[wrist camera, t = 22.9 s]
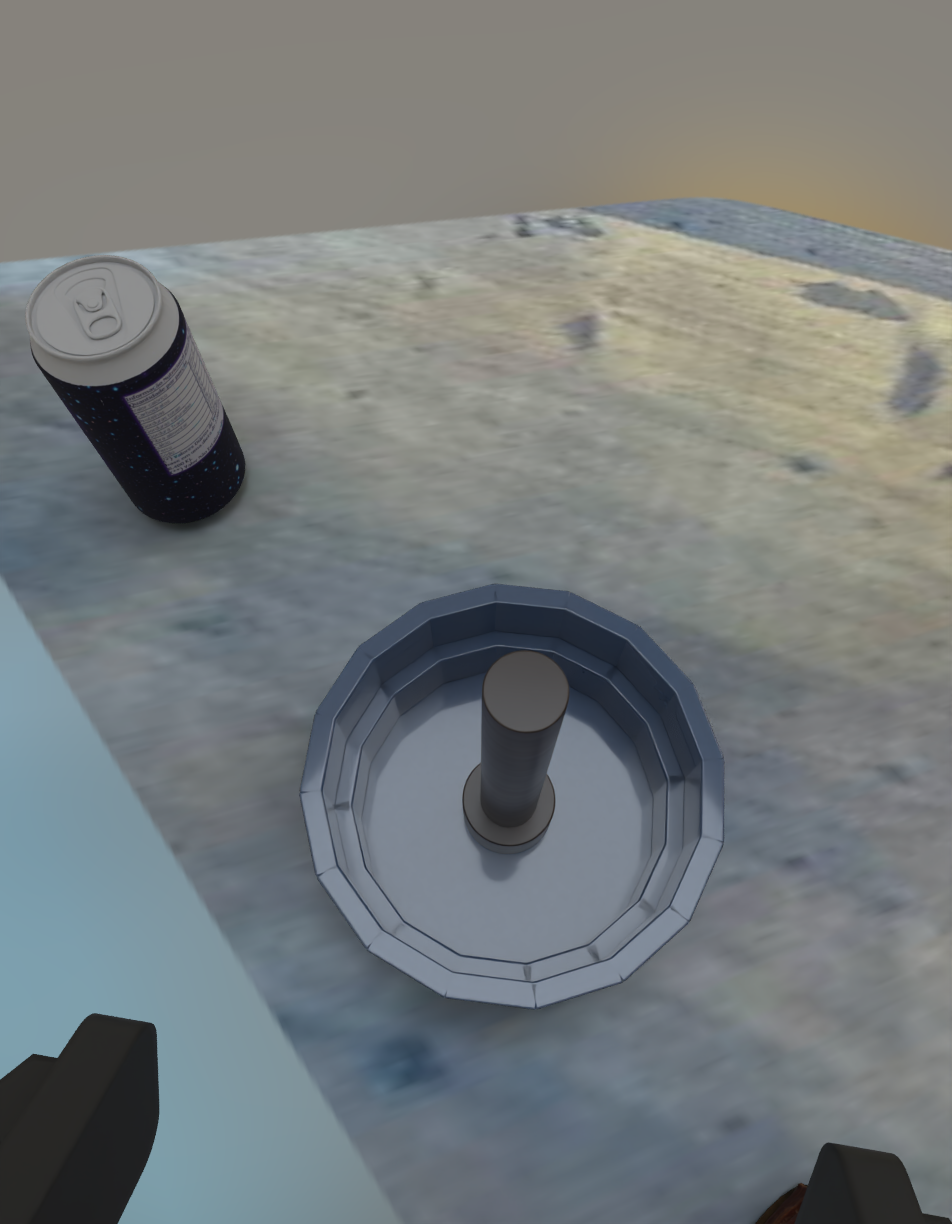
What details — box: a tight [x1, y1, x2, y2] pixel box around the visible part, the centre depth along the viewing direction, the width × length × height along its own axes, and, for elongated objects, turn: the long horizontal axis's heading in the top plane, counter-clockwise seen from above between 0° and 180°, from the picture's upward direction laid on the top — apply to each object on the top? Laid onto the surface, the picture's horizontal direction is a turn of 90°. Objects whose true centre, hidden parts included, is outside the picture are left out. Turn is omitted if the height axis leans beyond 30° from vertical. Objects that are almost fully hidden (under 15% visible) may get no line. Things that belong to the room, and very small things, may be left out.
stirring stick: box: [462, 650, 570, 854], centre depth 29 cm, size 4×4×15 cm
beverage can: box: [25, 255, 245, 523], centre depth 37 cm, size 6×6×12 cm
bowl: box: [299, 584, 724, 1010], centre depth 34 cm, size 15×15×6 cm
